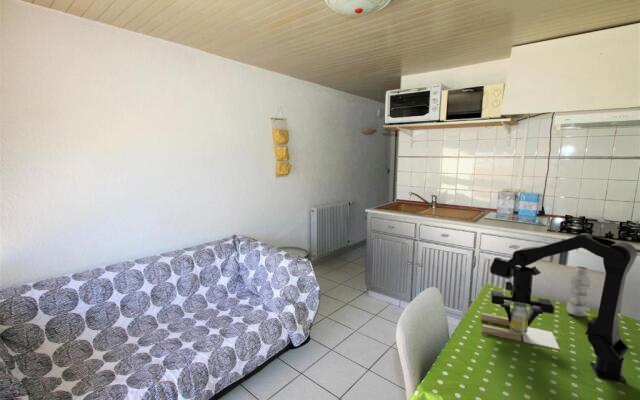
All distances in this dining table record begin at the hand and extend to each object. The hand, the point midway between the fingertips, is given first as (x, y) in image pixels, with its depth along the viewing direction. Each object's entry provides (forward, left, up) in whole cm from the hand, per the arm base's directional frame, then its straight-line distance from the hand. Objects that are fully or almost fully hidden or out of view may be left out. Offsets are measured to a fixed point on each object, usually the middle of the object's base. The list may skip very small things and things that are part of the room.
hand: (518, 323), depth 111 cm
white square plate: (0, -6, -4) cm, 7 cm away
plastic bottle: (+26, -23, -4) cm, 35 cm away
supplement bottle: (0, 0, -3) cm, 3 cm away
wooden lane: (0, +6, -4) cm, 7 cm away
